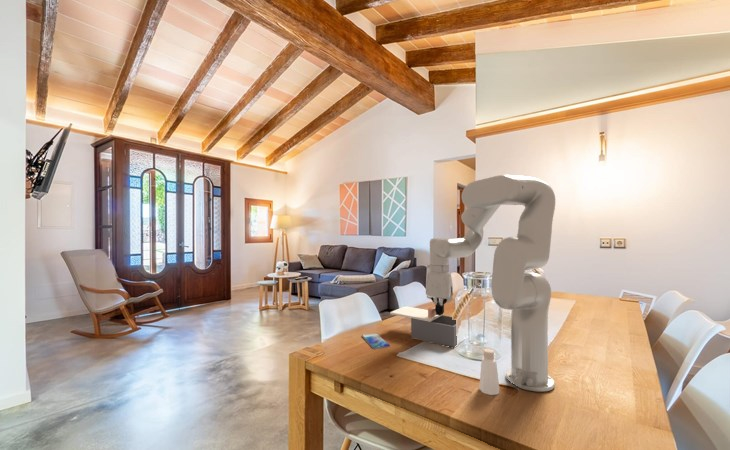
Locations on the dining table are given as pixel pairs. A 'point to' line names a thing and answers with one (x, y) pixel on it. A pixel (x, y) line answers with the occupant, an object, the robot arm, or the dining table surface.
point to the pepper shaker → (489, 374)
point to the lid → (416, 313)
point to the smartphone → (375, 341)
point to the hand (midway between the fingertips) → (439, 314)
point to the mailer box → (435, 331)
